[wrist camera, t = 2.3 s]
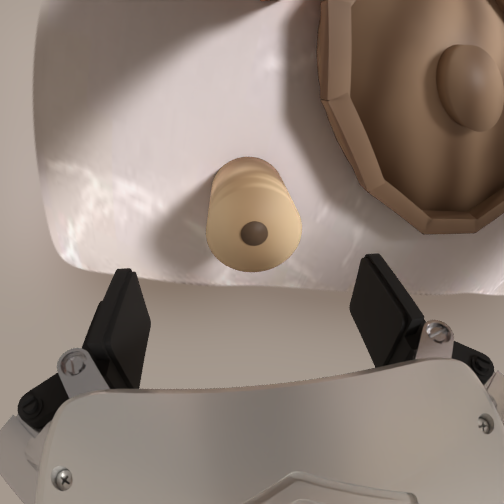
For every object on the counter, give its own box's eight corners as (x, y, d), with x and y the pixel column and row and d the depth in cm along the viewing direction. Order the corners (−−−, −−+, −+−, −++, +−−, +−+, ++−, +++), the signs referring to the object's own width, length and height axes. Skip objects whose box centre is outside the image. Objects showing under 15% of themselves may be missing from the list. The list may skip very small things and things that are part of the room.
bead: (284, 156, 19) (305, 187, 14) (281, 221, 22) (298, 270, 17) (209, 158, 19) (201, 191, 14) (214, 224, 21) (210, 275, 16)
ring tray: (529, 17, 10) (545, 19, 8) (507, 221, 23) (520, 232, 21) (309, -87, 8) (319, -101, 6) (307, 221, 22) (316, 238, 20)
